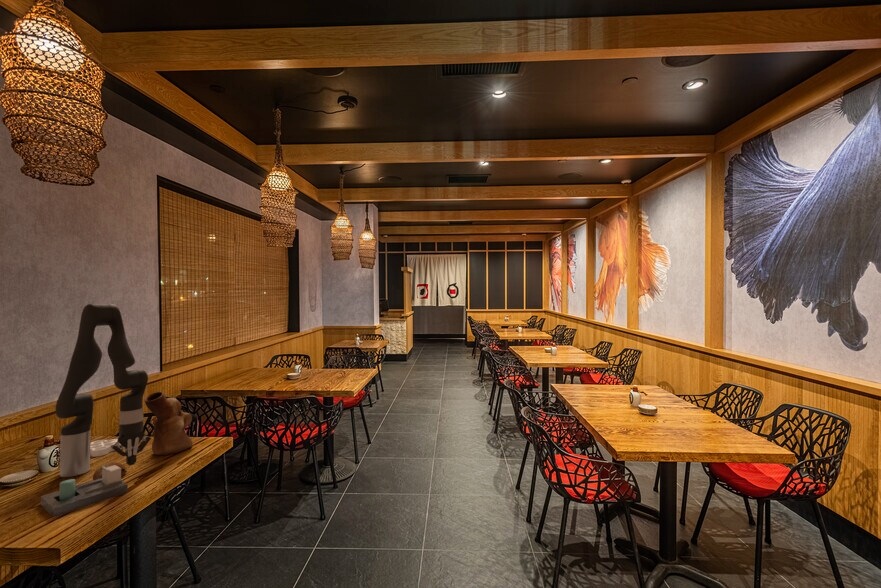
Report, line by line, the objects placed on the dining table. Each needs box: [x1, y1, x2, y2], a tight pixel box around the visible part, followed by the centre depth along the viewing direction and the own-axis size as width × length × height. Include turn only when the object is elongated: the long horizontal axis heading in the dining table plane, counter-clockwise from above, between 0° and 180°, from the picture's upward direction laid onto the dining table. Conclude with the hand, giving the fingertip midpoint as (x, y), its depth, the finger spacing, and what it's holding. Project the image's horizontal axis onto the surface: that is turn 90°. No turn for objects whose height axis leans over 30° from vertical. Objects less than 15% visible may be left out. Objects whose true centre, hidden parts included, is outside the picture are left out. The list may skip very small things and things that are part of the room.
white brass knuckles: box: [90, 438, 125, 458], centre depth 187 cm, size 3×18×15 cm
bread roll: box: [92, 461, 128, 481], centre depth 156 cm, size 10×10×8 cm
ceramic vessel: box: [143, 391, 194, 456], centre depth 183 cm, size 16×22×30 cm
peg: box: [58, 478, 76, 501], centre depth 135 cm, size 4×4×8 cm
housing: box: [40, 478, 129, 519], centre depth 139 cm, size 16×20×4 cm
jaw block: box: [102, 465, 122, 485], centre depth 145 cm, size 6×4×6 cm, turn 57°
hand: (131, 464), depth 150 cm, fingers closed
